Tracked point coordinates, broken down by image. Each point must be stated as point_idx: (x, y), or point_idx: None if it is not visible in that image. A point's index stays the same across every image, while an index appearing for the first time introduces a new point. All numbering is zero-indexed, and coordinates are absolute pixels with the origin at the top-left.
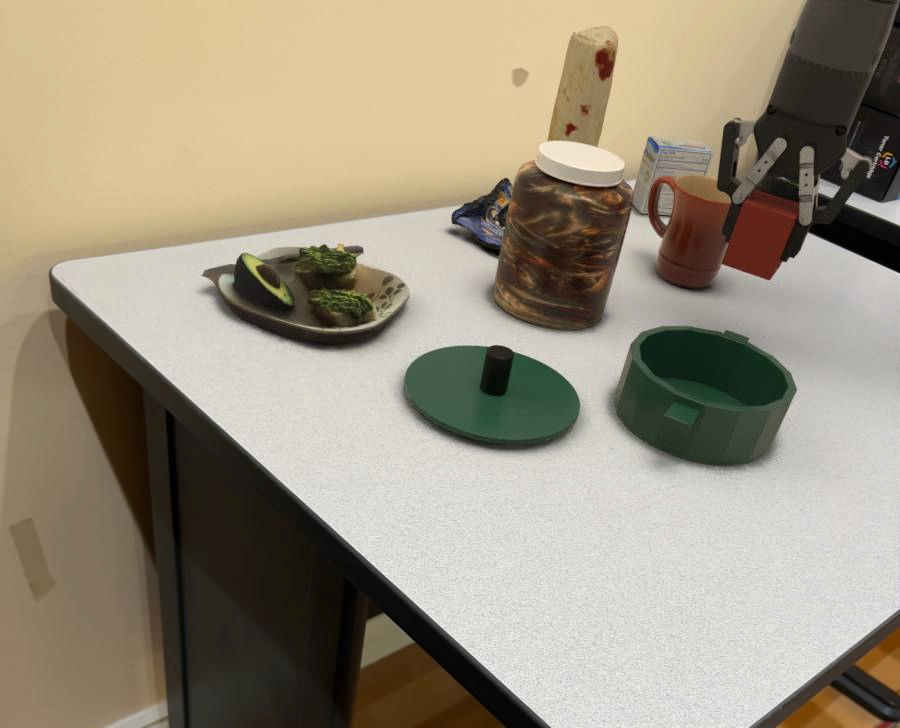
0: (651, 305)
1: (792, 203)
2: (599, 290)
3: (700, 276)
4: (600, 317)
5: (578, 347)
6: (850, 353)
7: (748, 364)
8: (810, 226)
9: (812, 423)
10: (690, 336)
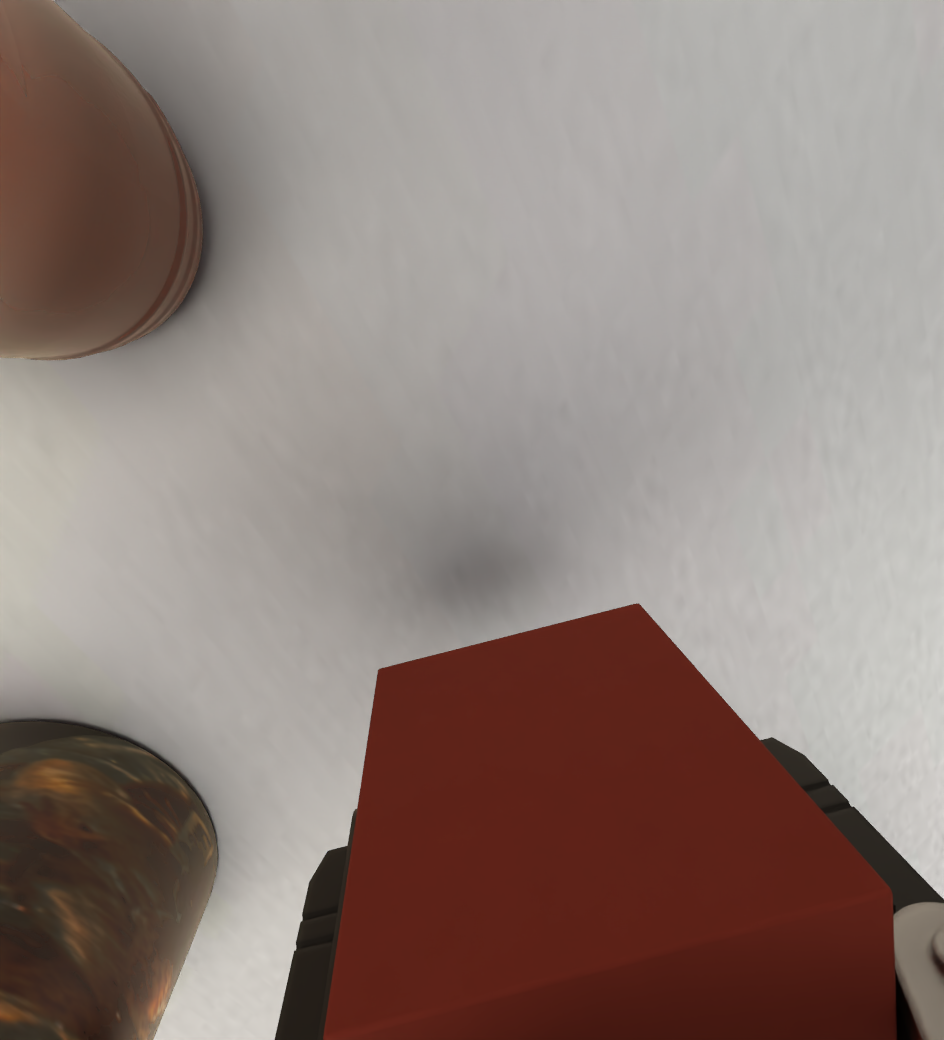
0: (201, 571)
1: (773, 987)
2: (174, 969)
3: (172, 295)
4: (203, 824)
5: (280, 940)
6: (832, 219)
7: None
8: (933, 891)
9: (842, 746)
10: None
